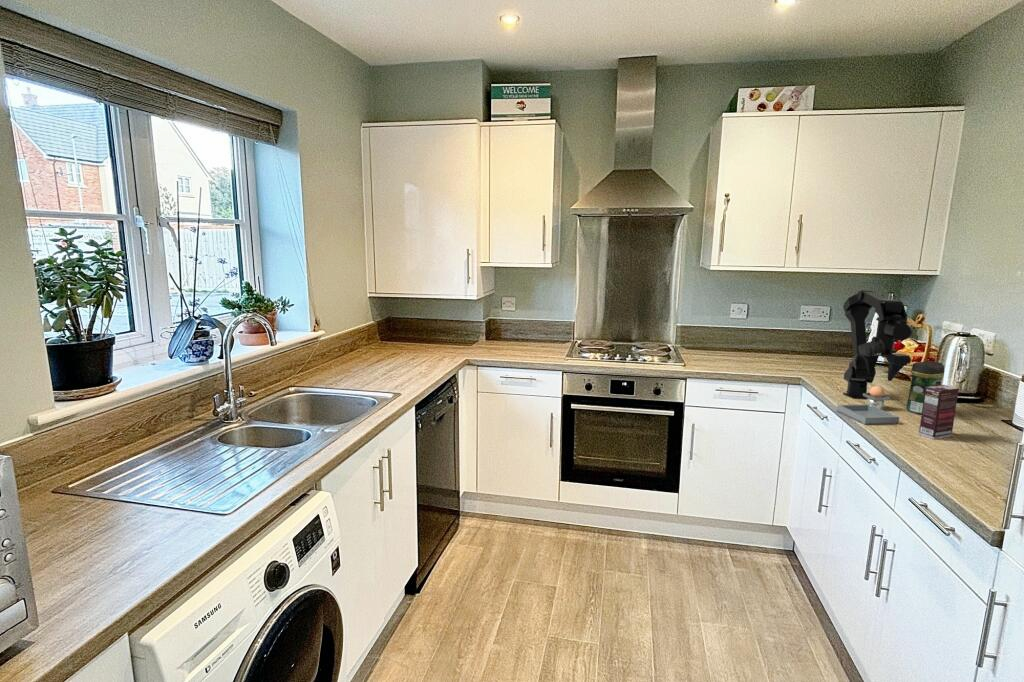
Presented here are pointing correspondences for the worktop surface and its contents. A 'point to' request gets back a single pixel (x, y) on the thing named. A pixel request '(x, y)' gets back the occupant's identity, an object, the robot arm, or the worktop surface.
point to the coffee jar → (923, 383)
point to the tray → (867, 414)
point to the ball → (876, 391)
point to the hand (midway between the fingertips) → (879, 377)
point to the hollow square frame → (876, 400)
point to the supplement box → (938, 411)
